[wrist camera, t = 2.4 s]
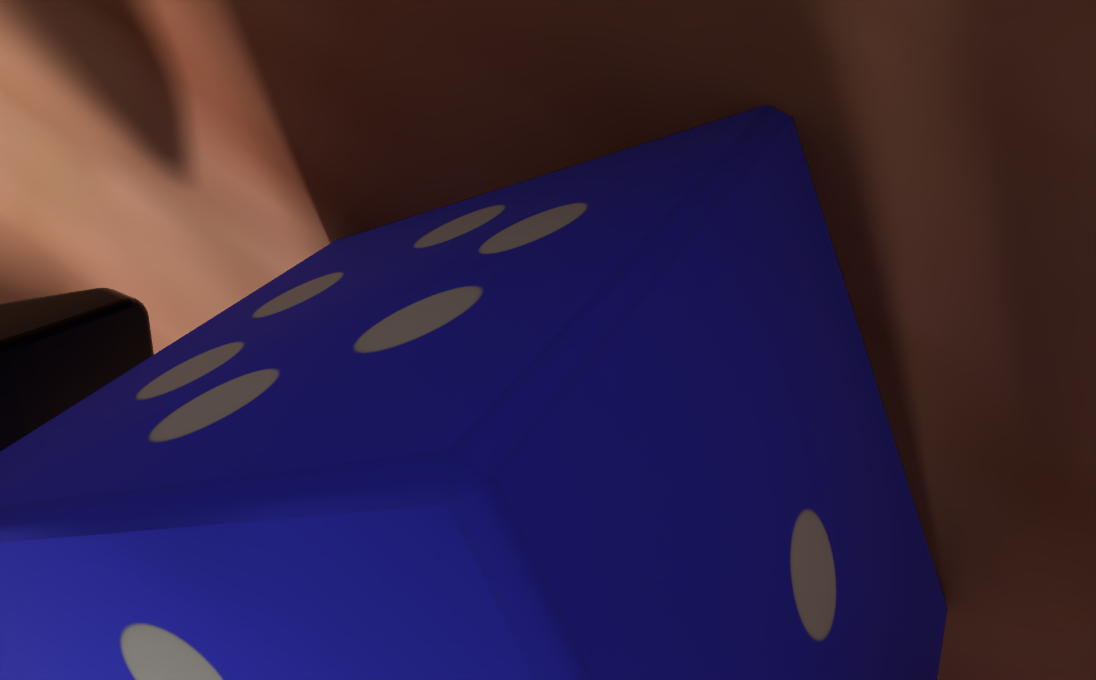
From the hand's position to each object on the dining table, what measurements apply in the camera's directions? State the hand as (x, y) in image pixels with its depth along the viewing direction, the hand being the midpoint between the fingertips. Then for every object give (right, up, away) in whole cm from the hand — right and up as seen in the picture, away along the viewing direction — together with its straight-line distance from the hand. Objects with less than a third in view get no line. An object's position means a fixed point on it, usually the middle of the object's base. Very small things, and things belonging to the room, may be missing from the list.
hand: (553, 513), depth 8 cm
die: (+1, +1, +1) cm, 2 cm away
